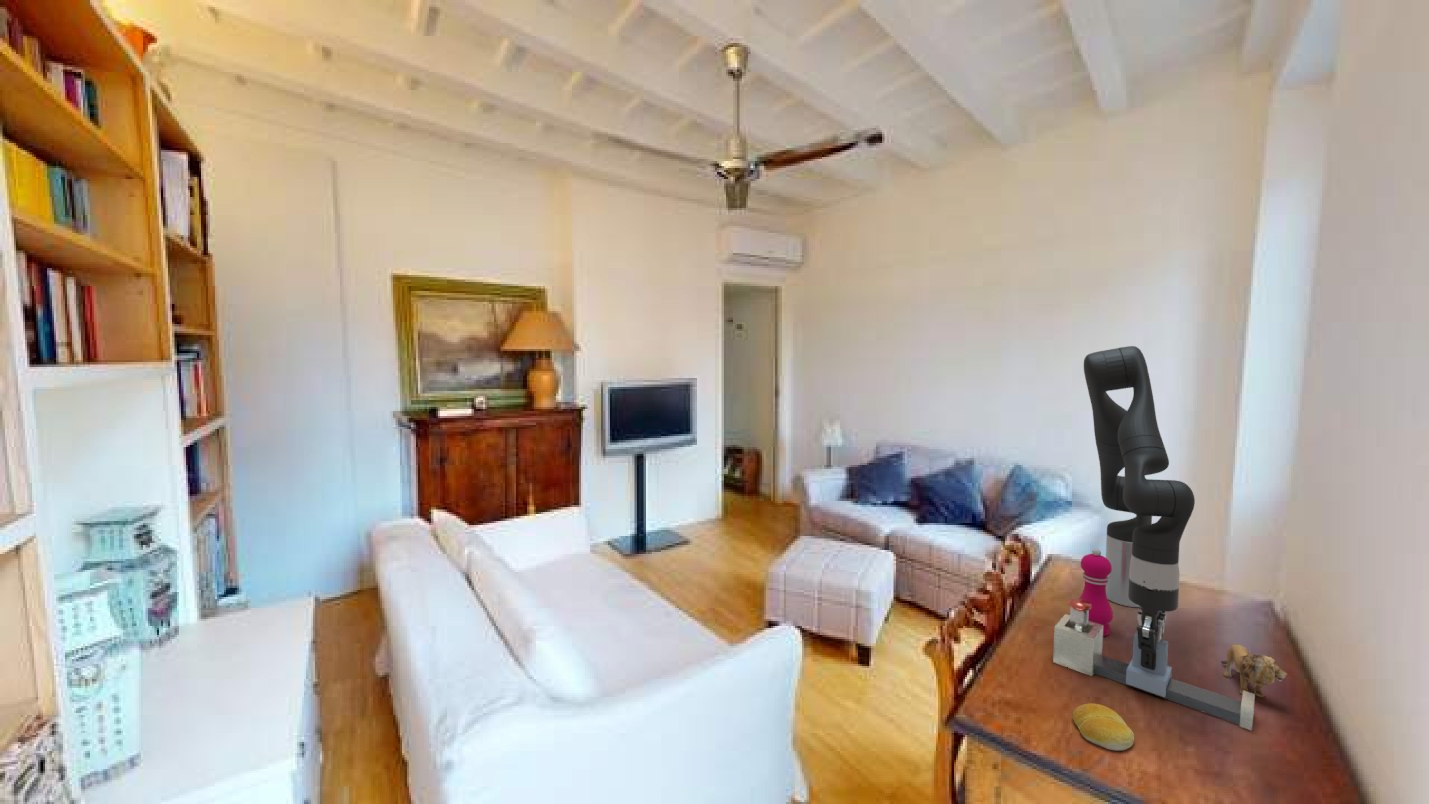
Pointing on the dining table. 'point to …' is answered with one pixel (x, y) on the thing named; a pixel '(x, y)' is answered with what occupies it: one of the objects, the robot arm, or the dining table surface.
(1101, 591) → the pepper mill
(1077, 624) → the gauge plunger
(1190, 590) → the dining table surface
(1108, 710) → the bread roll
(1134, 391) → the robot arm
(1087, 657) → the rail station
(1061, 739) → the dining table surface
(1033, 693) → the dining table surface
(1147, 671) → the carriage
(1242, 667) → the lion figurine
